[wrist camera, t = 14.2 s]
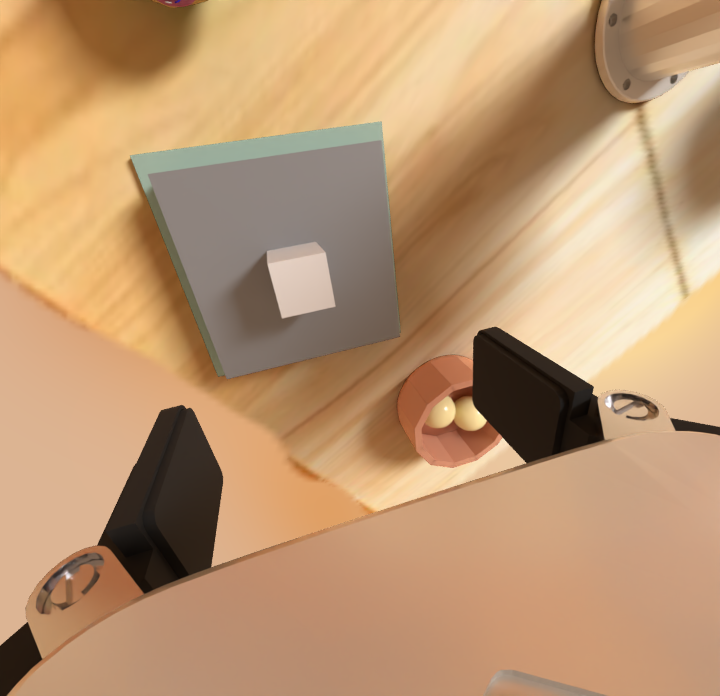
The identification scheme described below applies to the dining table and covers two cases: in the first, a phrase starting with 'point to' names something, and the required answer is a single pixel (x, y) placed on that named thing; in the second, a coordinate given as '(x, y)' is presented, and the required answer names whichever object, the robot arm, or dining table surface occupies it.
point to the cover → (286, 253)
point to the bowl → (444, 413)
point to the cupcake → (178, 2)
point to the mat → (239, 152)
